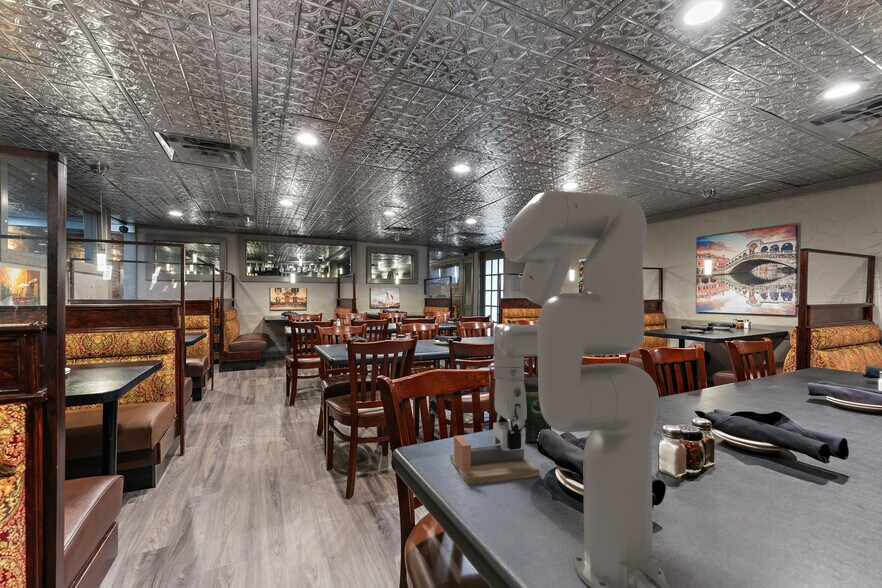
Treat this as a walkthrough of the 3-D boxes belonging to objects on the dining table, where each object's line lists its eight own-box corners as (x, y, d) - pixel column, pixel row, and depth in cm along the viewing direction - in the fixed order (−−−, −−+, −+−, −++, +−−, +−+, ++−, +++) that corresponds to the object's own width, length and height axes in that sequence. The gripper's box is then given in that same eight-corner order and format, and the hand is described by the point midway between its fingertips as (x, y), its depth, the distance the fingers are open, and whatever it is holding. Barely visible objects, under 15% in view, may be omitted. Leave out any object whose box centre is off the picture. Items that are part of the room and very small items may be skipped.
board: (539, 475, 92) (539, 469, 92) (467, 484, 87) (467, 478, 87) (513, 453, 105) (513, 448, 105) (450, 460, 101) (450, 454, 101)
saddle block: (525, 448, 96) (525, 428, 96) (502, 451, 94) (502, 430, 94) (514, 440, 101) (514, 421, 102) (493, 442, 100) (493, 422, 100)
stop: (470, 470, 91) (470, 445, 91) (462, 471, 91) (462, 445, 91) (461, 459, 98) (461, 435, 98) (454, 460, 97) (454, 436, 98)
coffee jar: (543, 433, 122) (542, 374, 122) (555, 442, 114) (555, 379, 114) (514, 435, 120) (513, 375, 120) (525, 444, 112) (524, 380, 112)
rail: (523, 460, 97) (523, 446, 97) (467, 466, 94) (467, 451, 94) (520, 457, 99) (520, 443, 99) (464, 463, 96) (464, 448, 96)
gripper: (539, 378, 91) (539, 455, 90) (508, 366, 107) (508, 431, 107) (509, 380, 89) (509, 459, 89) (482, 367, 105) (482, 433, 105)
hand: (508, 443), depth 98 cm, fingers closed on saddle block, 6 cm apart
